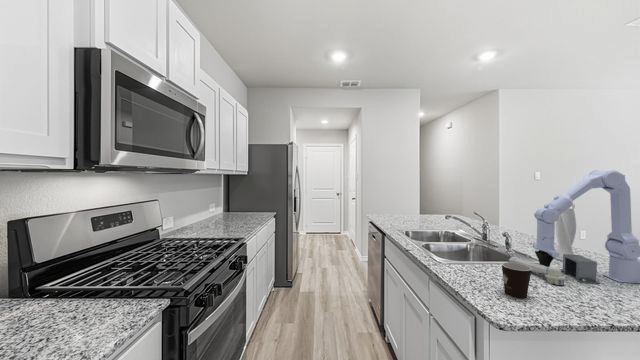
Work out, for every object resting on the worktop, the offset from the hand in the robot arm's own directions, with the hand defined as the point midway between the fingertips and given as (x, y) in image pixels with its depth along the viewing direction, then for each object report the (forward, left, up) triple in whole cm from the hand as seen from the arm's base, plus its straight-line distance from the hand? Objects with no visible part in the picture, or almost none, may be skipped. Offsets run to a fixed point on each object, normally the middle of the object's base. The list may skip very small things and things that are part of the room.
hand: (544, 269), depth 119 cm
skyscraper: (-21, -22, -2) cm, 31 cm away
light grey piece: (+4, 0, -3) cm, 5 cm away
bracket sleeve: (-12, +1, -2) cm, 12 cm away
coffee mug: (+21, +22, -2) cm, 30 cm away
